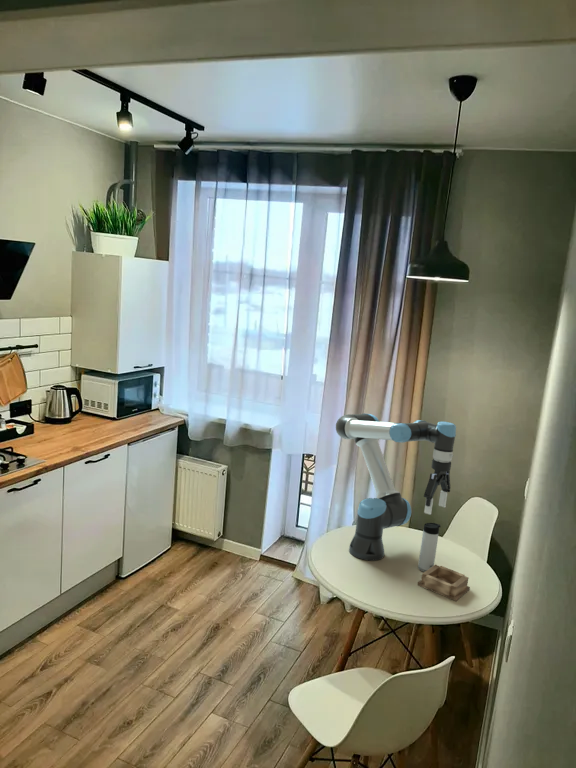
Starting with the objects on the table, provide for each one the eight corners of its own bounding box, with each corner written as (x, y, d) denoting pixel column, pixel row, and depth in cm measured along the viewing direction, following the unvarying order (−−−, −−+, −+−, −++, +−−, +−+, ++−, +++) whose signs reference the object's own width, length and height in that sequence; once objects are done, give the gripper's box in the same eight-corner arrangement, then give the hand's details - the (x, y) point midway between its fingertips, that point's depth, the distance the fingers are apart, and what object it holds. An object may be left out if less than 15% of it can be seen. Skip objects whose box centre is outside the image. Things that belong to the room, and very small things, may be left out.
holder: (417, 585, 224) (418, 573, 223) (432, 574, 235) (434, 562, 234) (455, 601, 214) (457, 589, 213) (470, 589, 225) (472, 577, 224)
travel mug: (434, 574, 235) (441, 528, 232) (418, 571, 237) (424, 525, 234) (433, 567, 241) (440, 522, 239) (417, 564, 243) (424, 520, 240)
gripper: (437, 467, 220) (429, 519, 223) (463, 457, 239) (455, 506, 242) (419, 462, 225) (412, 513, 228) (446, 453, 244) (439, 501, 247)
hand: (434, 510), depth 235 cm, fingers open, 13 cm apart
